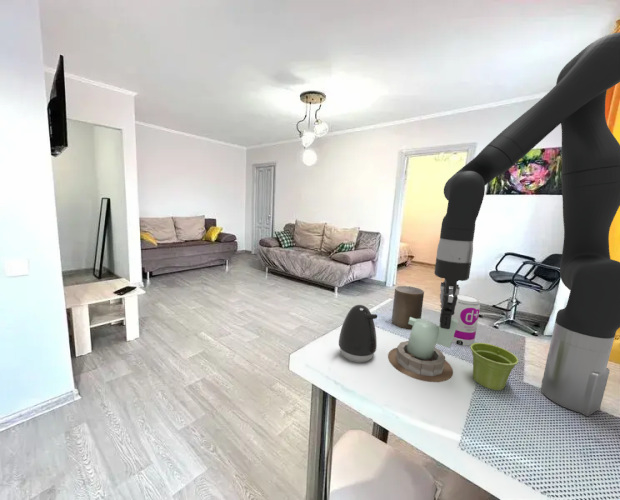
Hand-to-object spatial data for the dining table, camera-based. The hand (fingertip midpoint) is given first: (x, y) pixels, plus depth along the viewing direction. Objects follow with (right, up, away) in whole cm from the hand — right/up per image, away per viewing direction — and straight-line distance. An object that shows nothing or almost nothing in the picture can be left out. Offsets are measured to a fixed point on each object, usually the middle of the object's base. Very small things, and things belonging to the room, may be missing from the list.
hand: (444, 325), depth 67 cm
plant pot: (+9, -14, -2) cm, 17 cm away
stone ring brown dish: (-5, -12, +4) cm, 14 cm away
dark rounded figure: (-21, -11, +6) cm, 25 cm away
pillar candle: (0, -9, +28) cm, 29 cm away
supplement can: (+14, -11, +18) cm, 25 cm away
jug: (-5, -8, +3) cm, 10 cm away
